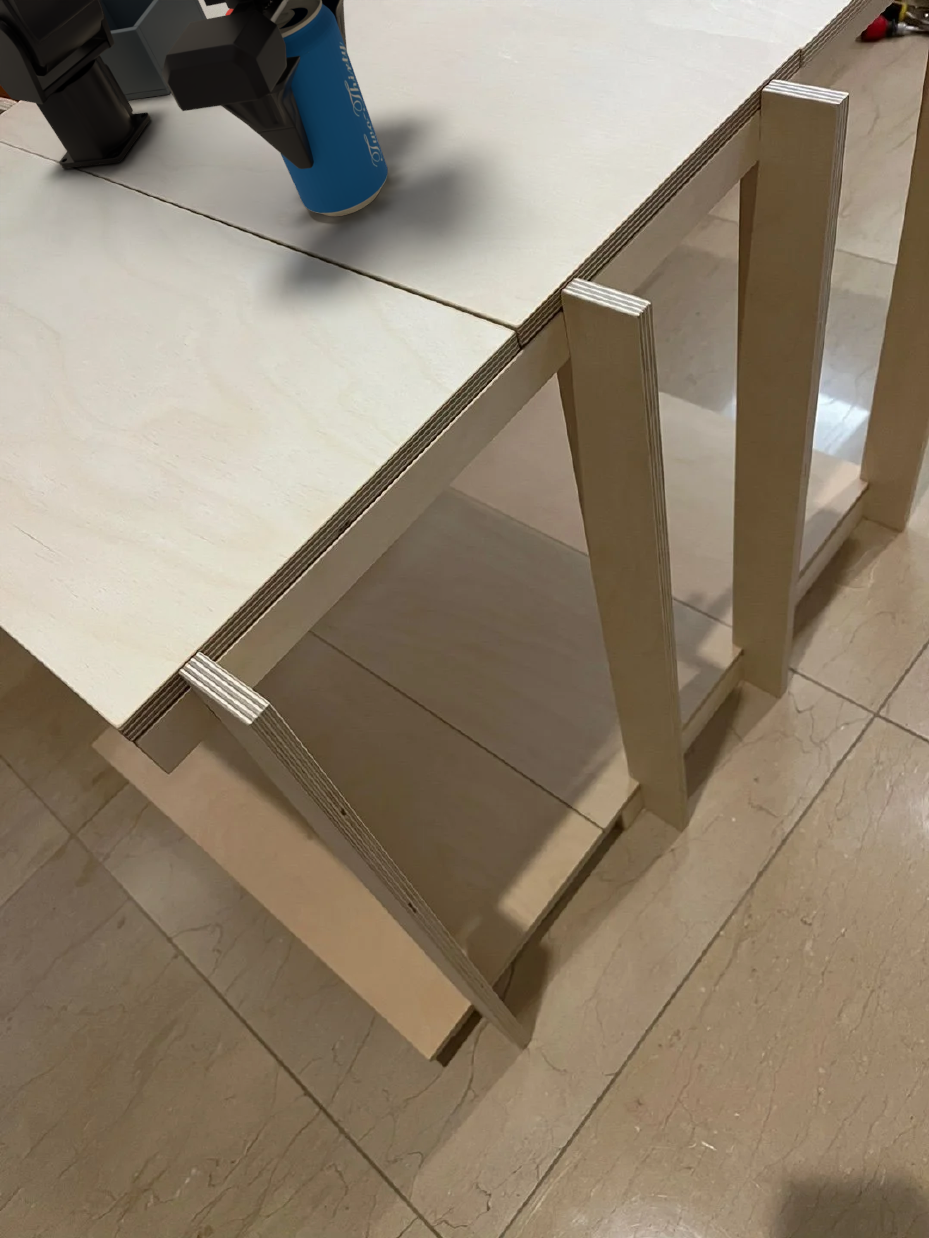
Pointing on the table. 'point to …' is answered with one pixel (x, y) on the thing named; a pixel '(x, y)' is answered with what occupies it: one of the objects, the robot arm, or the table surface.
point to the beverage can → (330, 115)
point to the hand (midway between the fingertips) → (325, 132)
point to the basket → (145, 41)
